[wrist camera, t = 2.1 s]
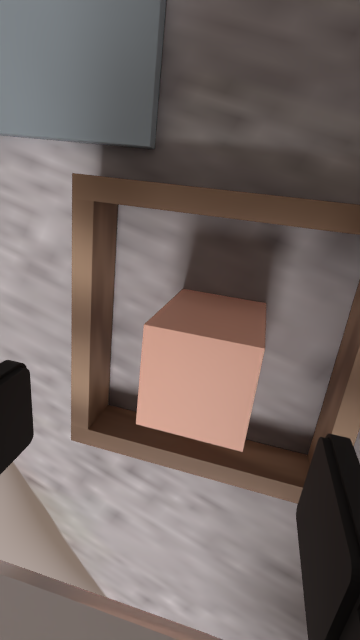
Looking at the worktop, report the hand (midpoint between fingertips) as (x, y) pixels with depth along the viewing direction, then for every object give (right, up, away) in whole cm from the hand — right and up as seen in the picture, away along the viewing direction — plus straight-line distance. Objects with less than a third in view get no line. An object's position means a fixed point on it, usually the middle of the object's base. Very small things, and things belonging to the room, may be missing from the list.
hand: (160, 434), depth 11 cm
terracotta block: (+3, +3, +10) cm, 11 cm away
